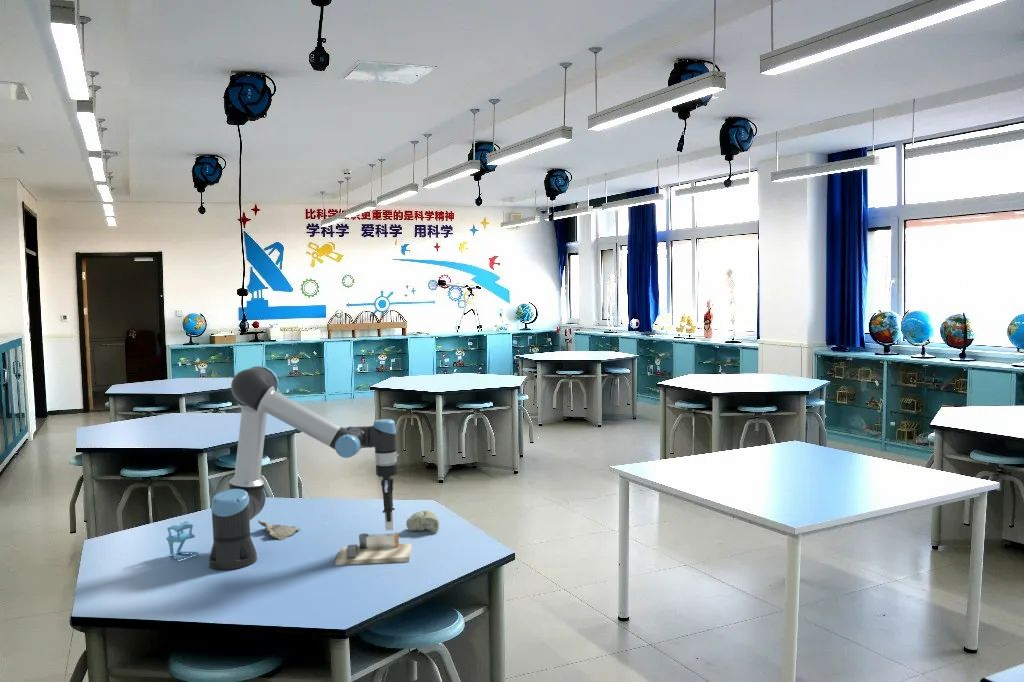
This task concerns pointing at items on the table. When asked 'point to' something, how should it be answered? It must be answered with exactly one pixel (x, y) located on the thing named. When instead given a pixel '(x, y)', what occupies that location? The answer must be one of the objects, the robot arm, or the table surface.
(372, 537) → the bar
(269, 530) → the dried leaf
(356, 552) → the block
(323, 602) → the table surface
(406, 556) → the plate
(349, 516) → the table surface
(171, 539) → the chair
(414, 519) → the seashell
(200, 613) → the table surface
